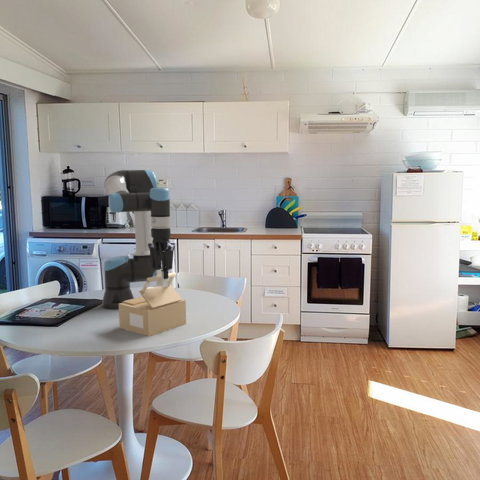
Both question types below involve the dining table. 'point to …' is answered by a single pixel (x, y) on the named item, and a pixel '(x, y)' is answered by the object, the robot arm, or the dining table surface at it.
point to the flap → (160, 292)
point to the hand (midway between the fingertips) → (162, 286)
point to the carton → (151, 316)
